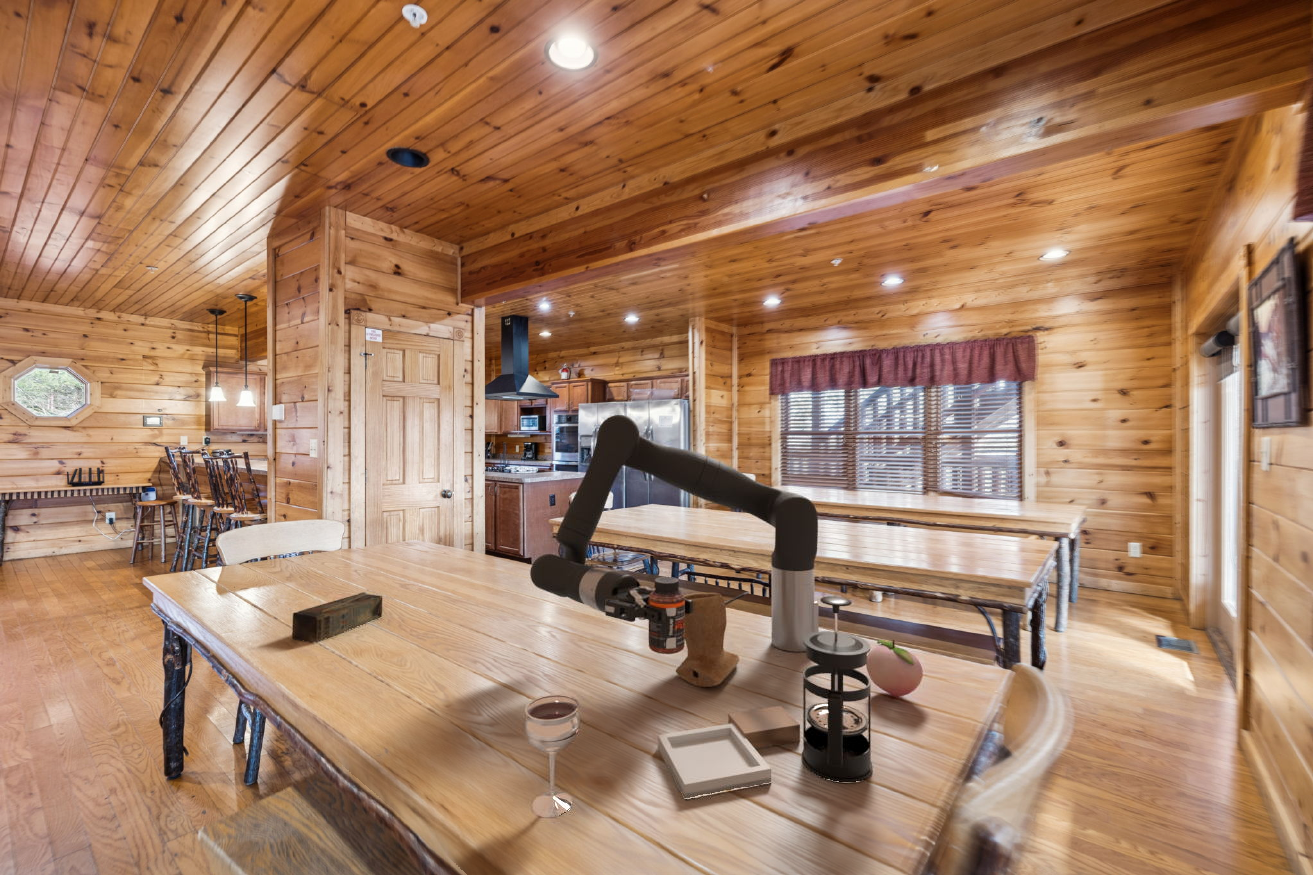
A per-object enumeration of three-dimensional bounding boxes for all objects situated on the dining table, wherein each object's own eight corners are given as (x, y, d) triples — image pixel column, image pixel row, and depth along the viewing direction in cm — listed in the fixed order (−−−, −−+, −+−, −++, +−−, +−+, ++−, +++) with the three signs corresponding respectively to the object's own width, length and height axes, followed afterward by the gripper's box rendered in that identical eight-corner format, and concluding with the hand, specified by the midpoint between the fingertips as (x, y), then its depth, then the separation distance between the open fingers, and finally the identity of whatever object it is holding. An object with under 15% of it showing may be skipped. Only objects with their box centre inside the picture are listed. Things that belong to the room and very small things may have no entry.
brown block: (780, 721, 88) (780, 705, 88) (800, 741, 82) (799, 724, 82) (728, 729, 85) (728, 713, 85) (744, 750, 80) (744, 733, 80)
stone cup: (691, 653, 116) (691, 582, 116) (745, 663, 111) (745, 589, 111) (659, 681, 103) (659, 601, 103) (718, 694, 97) (718, 610, 97)
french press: (804, 737, 83) (804, 585, 83) (871, 748, 80) (870, 591, 80) (797, 782, 72) (797, 608, 72) (874, 798, 69) (873, 615, 69)
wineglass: (513, 814, 66) (513, 714, 66) (543, 781, 72) (543, 690, 73) (562, 828, 64) (562, 725, 64) (589, 793, 70) (589, 699, 70)
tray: (733, 736, 84) (733, 723, 84) (771, 783, 72) (771, 768, 72) (658, 748, 80) (658, 734, 80) (684, 800, 69) (684, 784, 69)
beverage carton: (384, 618, 140) (384, 592, 140) (315, 645, 122) (315, 615, 122) (360, 615, 143) (360, 589, 143) (289, 641, 124) (289, 611, 124)
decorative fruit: (854, 690, 99) (854, 634, 99) (888, 682, 102) (888, 628, 102) (896, 714, 90) (896, 653, 90) (932, 704, 93) (931, 645, 94)
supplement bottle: (681, 657, 86) (681, 585, 86) (644, 654, 87) (644, 583, 87) (687, 643, 92) (687, 575, 92) (652, 640, 93) (652, 574, 93)
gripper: (577, 578, 95) (646, 598, 83) (637, 564, 105) (706, 580, 93) (577, 621, 95) (646, 647, 83) (637, 603, 105) (706, 624, 93)
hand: (677, 611), depth 88 cm, fingers closed on supplement bottle, 6 cm apart
